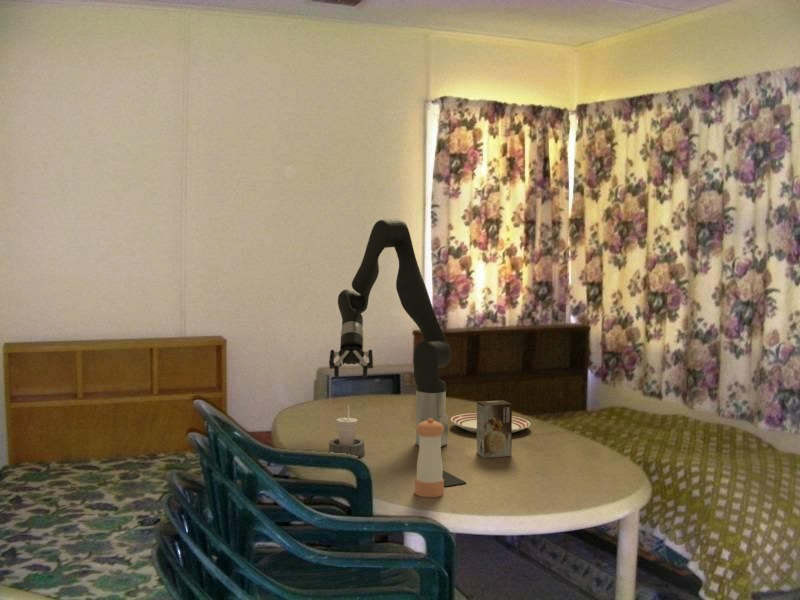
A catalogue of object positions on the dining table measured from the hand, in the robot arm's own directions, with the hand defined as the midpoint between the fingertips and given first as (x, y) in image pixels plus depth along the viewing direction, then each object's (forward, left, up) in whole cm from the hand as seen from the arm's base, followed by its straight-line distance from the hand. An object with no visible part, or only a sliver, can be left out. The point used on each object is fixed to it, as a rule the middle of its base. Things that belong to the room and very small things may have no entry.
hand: (350, 377), depth 251 cm
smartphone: (-44, +22, -21) cm, 53 cm away
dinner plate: (-33, -39, -21) cm, 55 cm away
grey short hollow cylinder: (-9, +15, -20) cm, 27 cm away
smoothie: (-8, +15, -20) cm, 26 cm away
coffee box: (-47, -8, -21) cm, 52 cm away
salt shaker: (-47, +35, -21) cm, 62 cm away
